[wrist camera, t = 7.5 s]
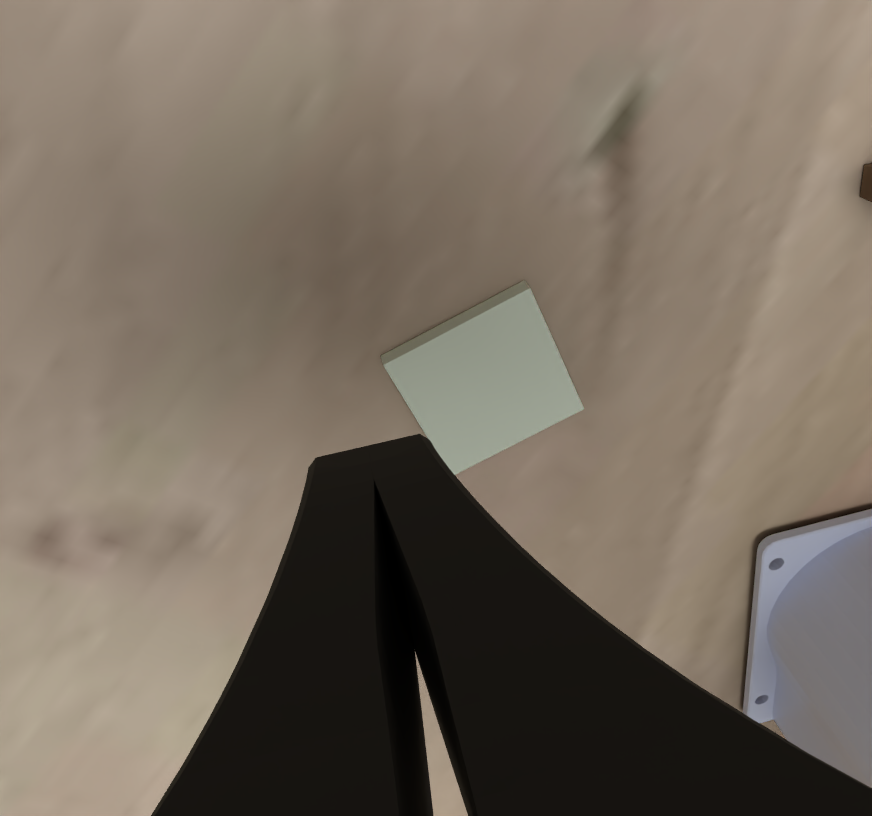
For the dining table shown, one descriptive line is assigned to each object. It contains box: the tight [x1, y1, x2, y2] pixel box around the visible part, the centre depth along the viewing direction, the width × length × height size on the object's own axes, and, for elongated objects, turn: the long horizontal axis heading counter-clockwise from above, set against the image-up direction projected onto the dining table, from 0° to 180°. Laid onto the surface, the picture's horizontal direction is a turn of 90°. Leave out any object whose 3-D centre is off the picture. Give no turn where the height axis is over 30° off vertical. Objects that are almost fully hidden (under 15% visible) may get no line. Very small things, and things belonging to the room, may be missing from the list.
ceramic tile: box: [381, 280, 584, 475], centre depth 20 cm, size 4×4×1 cm
